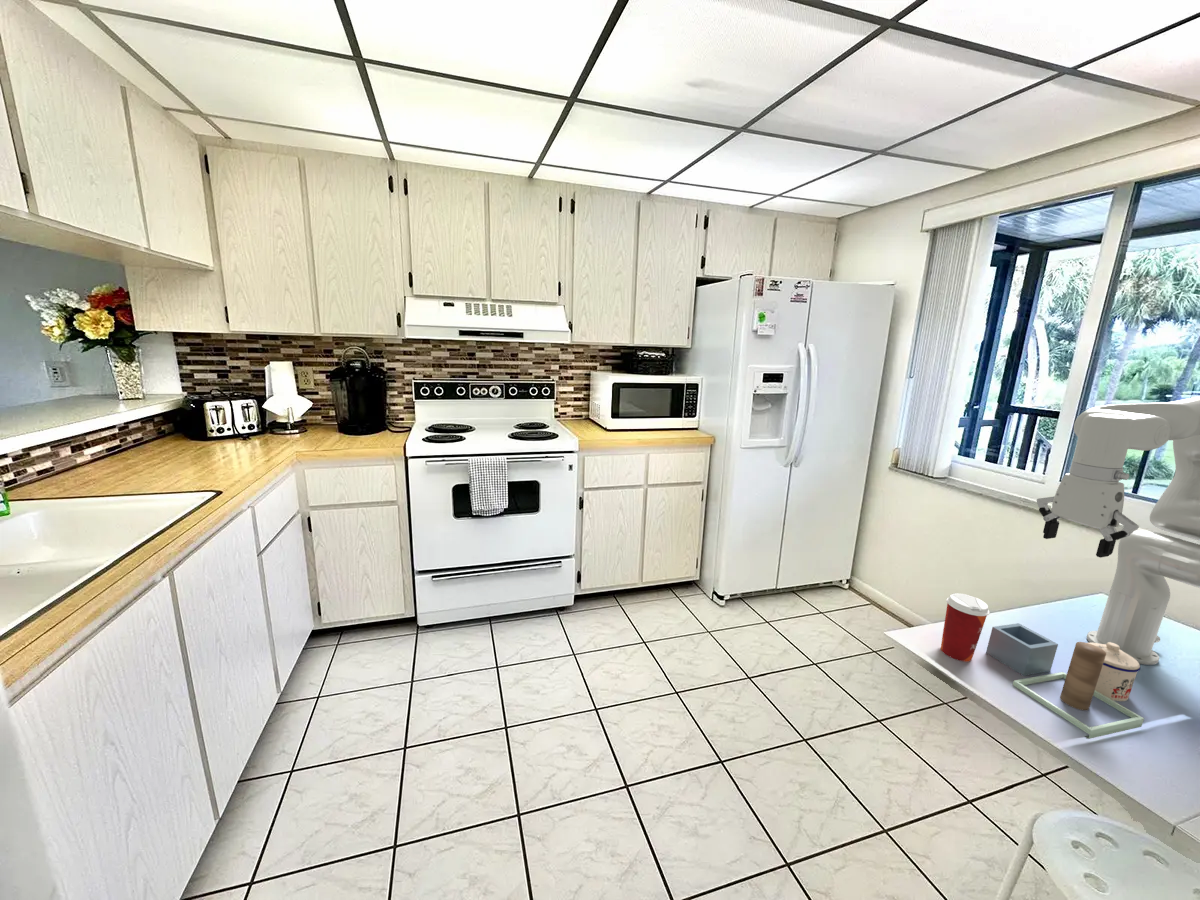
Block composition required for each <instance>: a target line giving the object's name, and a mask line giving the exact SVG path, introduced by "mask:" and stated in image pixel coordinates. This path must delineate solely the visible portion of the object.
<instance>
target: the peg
mask: <svg viewBox="0 0 1200 900" xmlns="http://www.w3.org/2000/svg"><path fill="white" fill-rule="evenodd" d="M1089 643H1090V642H1084V641H1076V643H1075V645H1074V649H1073V652H1072V656H1071V659H1070V663H1069V666H1068V669H1067V672H1066V674H1067V675H1066V679H1064V682H1063V686H1062V689H1061V693H1060V696H1059V698H1060V700H1061V701H1062V702H1063V703H1065V704H1066V705H1068V707H1069V706H1070V707H1072V708H1074V709H1076V710H1079V711H1089V709H1090V707H1091V704H1092V701H1093V697H1094V696H1093V694H1094V691H1095V688H1096V685H1097V682H1098V679H1099V675H1100V672H1101V669H1102V666H1103V663H1104V659H1105V656H1106V652H1105V651H1104V650H1103V649H1101V648H1099V647H1097V646H1095V645H1092V644H1089Z"/></svg>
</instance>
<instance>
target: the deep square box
mask: <svg viewBox="0 0 1200 900" xmlns="http://www.w3.org/2000/svg"><path fill="white" fill-rule="evenodd" d="M1058 647H1059V644H1058V643H1056V642H1055V641H1053V640H1051V639H1049V638H1047V637H1045V636H1043V635H1042V634H1039V633H1037V632H1036V631H1034V630H1032V629H1030V628H1028V627H1026V626H1024V624H1021V623H1010V624H1006V625H1005V624H1004V625H1002V624H1001V625H996V626H992V628H991V632H990V636H989V639H988V644H987V647H986V652H985V653H986V654H987V655H989V656H991V657H992V658H994V659H996V660H997V661H998V662H1001V663H1002V664H1004V665H1005V666H1007V667H1008V668H1010V669H1011V670H1013V671H1015V672H1016V673H1019V674H1020V675H1021V676H1029V675H1036V674H1042V673H1048V672H1051V670H1052V667H1053V663H1054V661H1055V657H1056V653H1057V650H1058Z"/></svg>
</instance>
